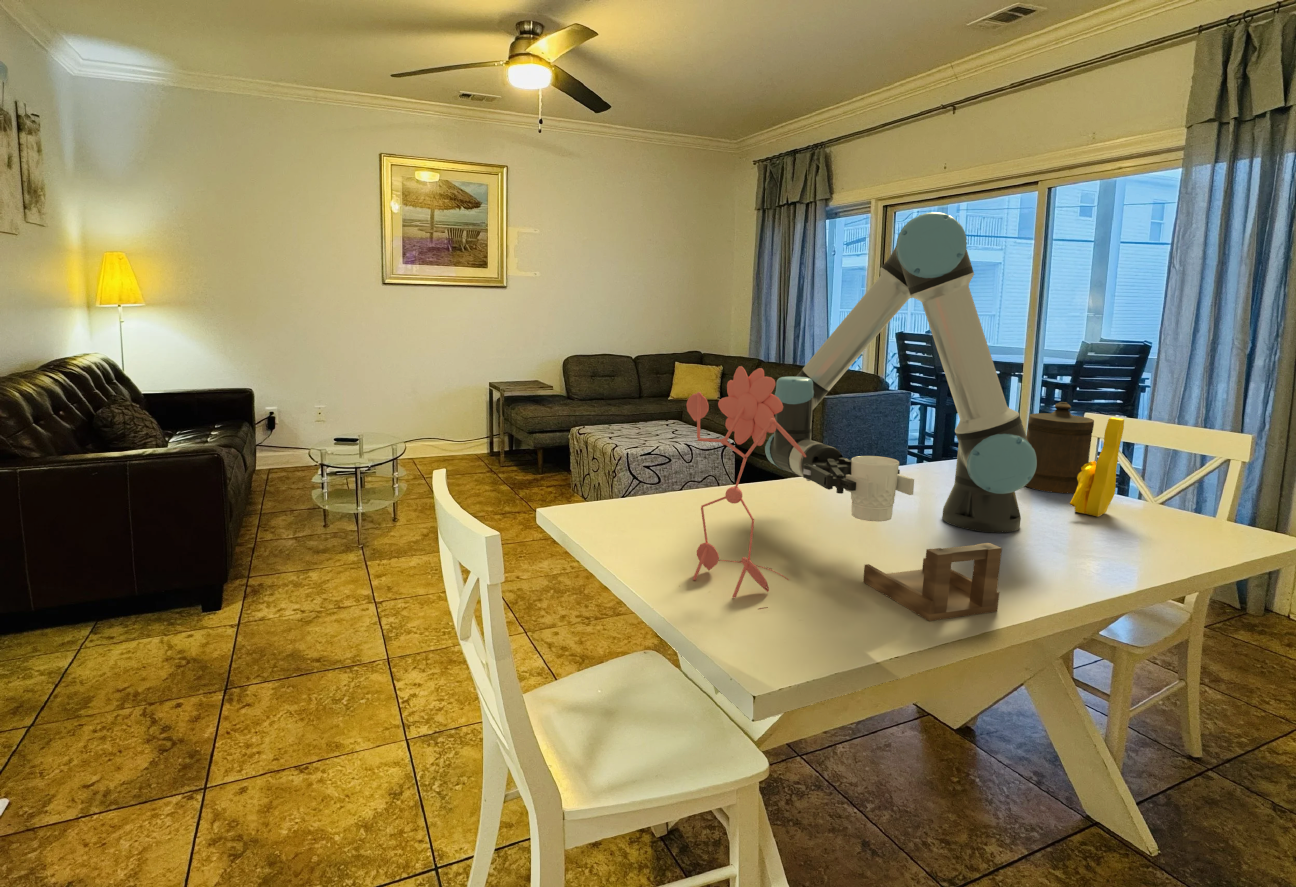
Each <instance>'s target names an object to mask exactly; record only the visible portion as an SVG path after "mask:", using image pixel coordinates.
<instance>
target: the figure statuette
mask: <svg viewBox="0 0 1296 887" xmlns="http://www.w3.org/2000/svg"><path fill="white" fill-rule="evenodd" d="M1106 423H1107V424H1106V426H1105V430H1104V437H1103V445H1102V447H1101V451H1100V453H1099V456H1098V458H1097V459H1096V460H1091V461H1089V463H1087V464H1085V465H1084V466H1082V467H1081V470H1082V471H1081V472H1080V473H1079V474H1078V477H1077V480H1078V486H1077V489H1076V492H1075V493H1073V496H1072V498H1071V500H1070V502H1069V505H1070V506H1072V507H1074V512H1076V513H1080V514H1086V515H1090V516H1093V517H1097V518H1099V517H1100V516H1102V515H1104V514H1105V513H1107V511H1108V508H1109V506H1110V504H1111V502H1112V500H1113V499H1114V497H1115V494H1116V487H1117V486H1116V485H1117V484H1116V481H1117V466H1118V462H1119V452H1120V448H1121V447H1120V446H1121V441H1122V438H1123V434H1124V427H1125V426H1124V425H1125V419H1124V418H1119V417H1109V418H1108V420H1107V422H1106Z"/></svg>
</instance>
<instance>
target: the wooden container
mask: <svg viewBox="0 0 1296 887" xmlns="http://www.w3.org/2000/svg"><path fill="white" fill-rule="evenodd" d="M1071 407H1072V406H1071V405H1070V404H1069V403H1068V402H1066V401H1065V402H1064V401H1059V402H1057V403H1055V406H1054V408H1055V410H1054V411H1053V412H1051V413H1050V412H1049V413H1045V412H1043V413H1042V412H1039V413H1038V412H1037V413H1030V414H1029V417H1028V424H1027V430H1026V437H1027V440H1028V442H1029V443H1030V444H1031V445H1032V448H1033V449H1034V450H1035V453H1036V459H1037V466H1036V471H1035V474H1034V476H1033V477H1032V479H1031V480H1030V481H1029V482H1028V483H1027V484H1026V485H1025V486H1024V487H1027V488H1029V489H1032V490H1035V491H1036V490H1037V491H1040V492H1041V491H1042V492H1047V493H1055V494H1075V492H1076V489H1077V486H1078V480H1077V477H1078V474H1079V473H1080V472H1081V471H1082V470H1081V467H1082V466H1084V465H1085V464H1087V463H1089V462H1090V453H1091V446H1092V445H1091V444H1092V434H1093V431H1094V425H1095V420H1094V419H1092V418H1090V417H1086V416H1080V415H1074V414H1072V413H1071V412H1070V411H1069V410H1070V409H1071Z"/></svg>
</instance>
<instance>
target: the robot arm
mask: <svg viewBox="0 0 1296 887" xmlns="http://www.w3.org/2000/svg"><path fill="white" fill-rule="evenodd" d="M967 240H968V239H967V233H966V231H965V229H964V227H963V226H962V224H961V223H960V222H959V221H958V220H956V218H954V217H953V216H951V215H950V214H947V213H943V212H927V213H926V212H925V213H923V214H919V215H918V216H916V217H914V218H911V219H910V220H909V221H907V223H906V224H904V226H903V227H902V228H901V230H900V232H898V236H897V238H896V244H895V248H894V249H893V250H892V252H891V254H890V255H889V257H888V258H887V260H886V261H885V262H884V263H883V265H882V266H881V267H880V269H879V270H880V272H879V273H880V276H879V277H878V278H877V279H876V281H875V282H874V283H873V284H872V285H871V286H870V288H868V290H867V291H866V292H865V294H864V295H863V296H862V298H860V300H858V302H857V303H856V304H855V306H854V307H853V308H852V309H851V311H849V313H848V314H847V315H846V317H845V318H843V320H842V321H841V322H840V324H839V325H838V326H837V327H836V328H835V329H834V331H833V332H832V333H831V334H830V336H829V337H828V338H827V339H826V340H825V341H824V343H823V344H822V345H821V346H820V347H819V349H818V350H817V351H816V352H815V353H814V355H813V356H812V357H811V358H810V360H808V362H807V363H806V364H805V365H804V367H803V368H802V369H801V371H800V372H799V373H797V375H796V376H782V377H779V378H778V379H777V380H776V382H775V384H776V385H775V391H774V392H775V393H774V395H775V396H776V397H778V398H779V399H780V401H781V402H782V404H783V410H782V411H781V412H779V413H777V414H774V417H775V420H776V422H777V423H778V424H779V425H780V426H781V427H782V428H783V429H784V430H785V431H786V432H787V433H788V434H789V435H790V436H791V437H792V438H793V439H794V441H795V442H796V443H797V444H798V445H799V446H800V448H801V449H802V450H803V452H804V453H805V455H806V457H804V456H803V455H802V454H801V453H800V452H799V451H798V450H797V449H796V448H795V447H794V446H793V445H792V444H791V443H790V442H789V441H788V440H787V439H786V438H785V437H784V436H783V435H782V434H781V432H780V431H779V430H778V429H777V428H776V431H775V432H774V433H772V434H771V436H769V438H768V440H767V441H766V443H765V446H764V451H765V455H766V456H765V457H766V458H767V460H768V461H769V462H770V463H771V464H773V465H774V466H776V467H777V468H778V469H780V470H783V471H785V472H786V471H787V472H789V473H792V474H795V475H796V476H799V477H802V478H803V479H805V480H806V481H807V482H811V481H812V482H814V483H816V485H819V486H821V487H822V488H824V489H825V490H829V491H830V490H833V487H834V488H836V491H835V492H836V493H837V494H841V495H842V494H844V492H845V491H847V492H848V493H850V494H851V493H854V494H856V495H859V496H861V497H864V498H866V499H871V498H872V482H869V481H866V480H863V479H861V478H858V477H855V476H852V475H851V459H849V458H846V457H844V456H843V454H842V453H841V451H840V450H839V449H838V448H835V447H833V446H831V445H828V444H825V443H822V442H819V441H815V440H812V429H813V428H812V425H813V422H812V421H813V411H814V409H815V408H816V407H817V406H818V405H819V403H820V402H821V401H822V400H823V399H824V398H825V396H827V395H828V393H829V392H830V391H831V389H832V388H833V387H834V386H835V384H836V383H837V382H839V380H840V379H841V378H842V376H844V374H846V372H847V371H848V370H849V368H851V366H852V365H853V364H854V362H855V361H857V359H858V358H859V357H860V356H861V355H862V354H863V352H864V351H866V349H867V347H869V346H870V344H871V343H872V342H874V340H875V339H876V338H877V337H878V335H879V334H880V333H881V332H882V331H883V329H884V328H885V327H886V326H887V325H888V324H889V322H890V321H891V320H892V319H893V318H894V317H895V316H896V315H897V314H898V312H900V310H901V309H902V308H903V307H904V305H905V304H906V303H907V302H908V301H909V300H910V299H915V300H917V301H920V303H921V304H922V308H923V310H924V313H925V316H926V320H927V322H928V326H929V329H930V332H931V335H932V337H933V341H934V344H935V347H936V350H937V353H938V356H939V359H940V363H941V365H942V366H941V367H942V369H943V371H944V374H945V375H944V376H945V378H946V381H947V385H948V387H949V390H950V393H951V397H952V399H953V403H954V405H955V409H956V412H957V415H958V419H959V422H958V424H957V426H955V429H954V432H955V436H956V439H957V442H958V446H957V447H958V448H957V456H956V465H955V477H954V485H953V486H952V489H951V490H950V492H949V495H948V497H947V499H946V502H945V503H944V505H943V509H942V515H941V516H942V517H941V518H942V520H943V521H944V522H946V523H947V524H950V525H952V526H955V527H957V528H961V529H965V530H970V531H971V530H972V531H975V532H984V533H997V534H998V533H1012V532H1016V531H1017V530H1020V528H1021V521H1022V518H1021V512H1020V508H1019V504H1018V500H1017V496H1016V491H1018V490H1019V491H1020V490H1021V489H1023V487H1026V486H1025V485H1026V484H1027V483H1028V482H1029V481H1030V480H1031V479H1032V477H1033V476H1034V474H1035V471H1036V466H1037V459H1036V453H1035V450H1034V449H1033V448H1032V445H1031V444H1030V443H1029V442H1028V440H1027V437H1026V436H1027V433H1026V431H1025V428H1024V426H1023V420H1022V419H1021V416H1020V413H1019V411H1016V410H1014V409H1012V408H1010V407H1009V406H1008V404H1007V401H1006V398H1005V395H1004V392H1003V388H1002V385H1001V383H1000V379H999V377H998V373H997V370H996V367H995V363H994V361H993V358H992V354H991V352H990V348H989V345H988V342H987V338H986V335H985V333H984V329H983V326H982V324H981V320H980V316H979V315H978V311H977V308H976V304H975V302H974V298H973V296H972V293H971V292H972V291H971V289H970V282H971V281H972V279H973V277H974V275H975V272H974V269H973V265H972V262H971V258H970V256H969V255H970V254H969V253H968V248H967V244H968V242H967ZM900 473H901V471H900V469H899V468H898V476H897V486H896V492H900V493H903V494H906V495H908V496H913V495H914V488H915V478H912V477H910V476H906V475H903V474H900ZM844 490H845V491H844Z"/></svg>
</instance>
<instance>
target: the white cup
mask: <svg viewBox="0 0 1296 887" xmlns="http://www.w3.org/2000/svg"><path fill="white" fill-rule="evenodd" d="M850 460H851V475H852V476H855V477H858V478H861V479H863V480H866V481H869V482H872V498H871V499H866V498H864V497H861V496H859V495H856V494H854V493H851V492H850V499H851V516H852V517H854V518H855V519H858V520H861V521H866V522H877V523H879V522H887V521H890V520H891V519H892V516H893V509H894V508H893V507H894V503H895V498H896V492H897V490H896V486H897V476H898V469H899V467H900V461H899V460H897V459H895V458H891V457H886V456H877V455H861V456H854V457H852V458H851V459H850Z"/></svg>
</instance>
